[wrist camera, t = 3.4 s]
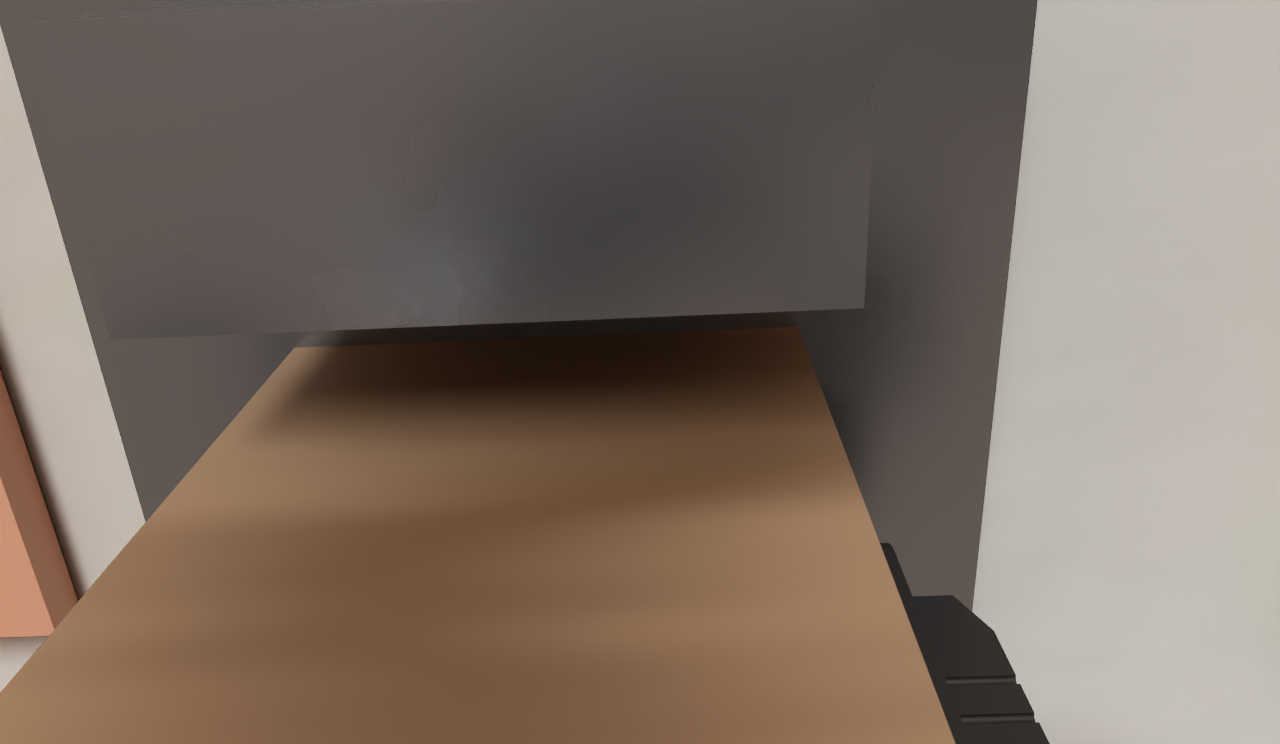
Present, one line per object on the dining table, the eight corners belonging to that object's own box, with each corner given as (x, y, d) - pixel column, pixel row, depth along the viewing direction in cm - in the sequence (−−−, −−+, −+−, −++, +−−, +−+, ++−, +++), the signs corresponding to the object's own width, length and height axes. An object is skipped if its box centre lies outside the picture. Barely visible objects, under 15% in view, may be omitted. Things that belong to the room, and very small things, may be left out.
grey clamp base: (982, -185, 10) (1997, -543, 2) (899, 845, 15) (1127, 1675, 8) (77, -135, 10) (-1508, -324, 3) (324, 861, 16) (37, 1680, 8)
